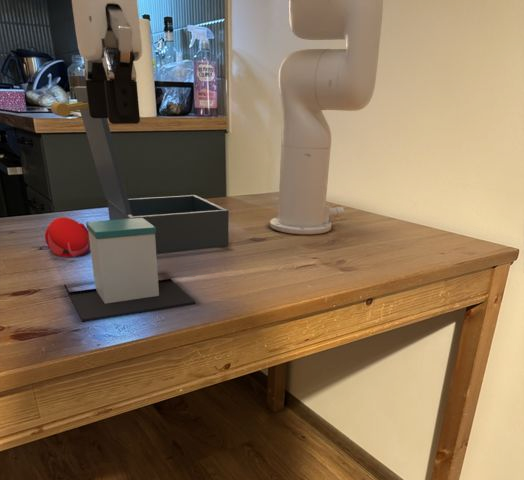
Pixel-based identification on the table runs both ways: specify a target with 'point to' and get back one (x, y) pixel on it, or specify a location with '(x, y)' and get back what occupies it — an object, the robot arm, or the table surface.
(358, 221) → the table surface
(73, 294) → the mat
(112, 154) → the lid
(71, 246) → the cap
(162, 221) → the chest
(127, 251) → the container
